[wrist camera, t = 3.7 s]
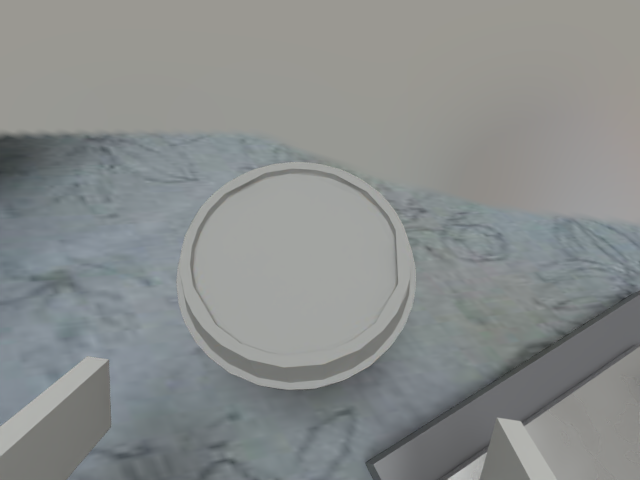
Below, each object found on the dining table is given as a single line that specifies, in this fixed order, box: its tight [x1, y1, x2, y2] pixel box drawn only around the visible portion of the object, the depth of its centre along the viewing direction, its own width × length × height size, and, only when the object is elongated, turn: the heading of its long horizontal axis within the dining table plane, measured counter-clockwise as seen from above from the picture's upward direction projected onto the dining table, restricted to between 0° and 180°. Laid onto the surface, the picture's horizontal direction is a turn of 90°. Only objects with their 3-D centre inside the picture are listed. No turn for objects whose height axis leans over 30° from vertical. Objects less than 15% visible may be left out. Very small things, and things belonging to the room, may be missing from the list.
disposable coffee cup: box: [176, 162, 416, 390], centre depth 19 cm, size 10×10×12 cm
